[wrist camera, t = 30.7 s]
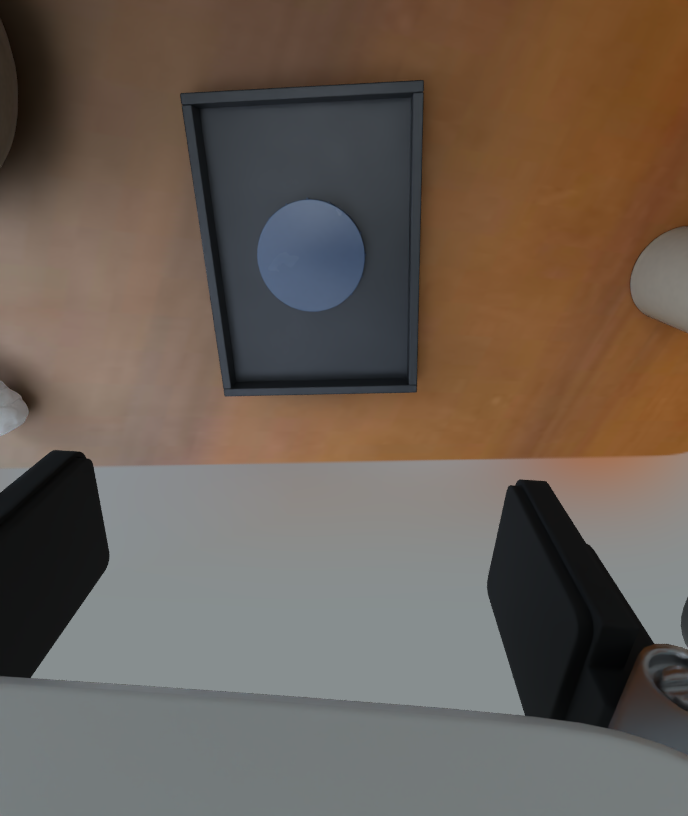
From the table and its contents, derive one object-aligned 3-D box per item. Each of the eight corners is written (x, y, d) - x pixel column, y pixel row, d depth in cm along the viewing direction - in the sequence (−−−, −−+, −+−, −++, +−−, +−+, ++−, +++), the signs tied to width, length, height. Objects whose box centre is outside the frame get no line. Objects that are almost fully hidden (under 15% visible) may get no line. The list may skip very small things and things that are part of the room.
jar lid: (266, 190, 32) (261, 190, 30) (373, 207, 32) (373, 208, 30) (258, 298, 35) (253, 303, 33) (356, 314, 35) (356, 319, 33)
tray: (413, 381, 37) (416, 392, 35) (232, 385, 38) (224, 396, 36) (419, 88, 30) (423, 79, 28) (192, 100, 30) (179, 92, 28)
